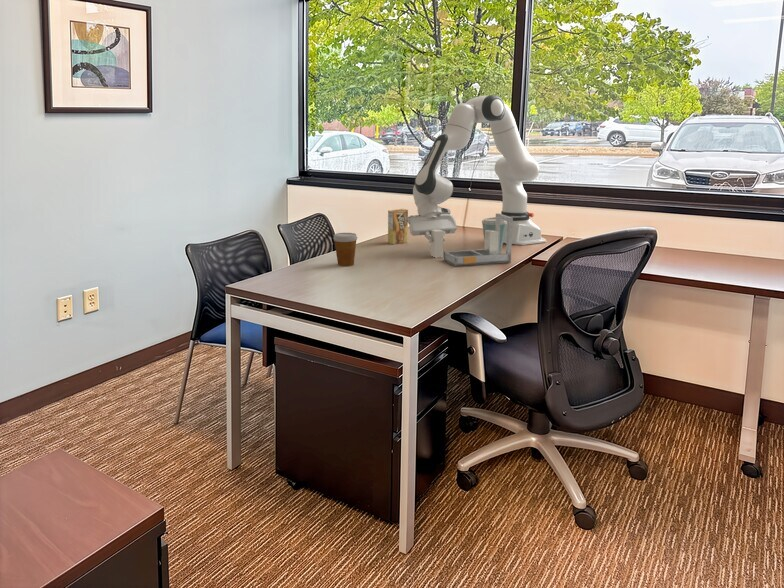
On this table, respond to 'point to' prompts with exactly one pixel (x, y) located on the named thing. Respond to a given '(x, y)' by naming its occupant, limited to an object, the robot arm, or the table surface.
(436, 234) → the cream rectangular block
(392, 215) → the candy box
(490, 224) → the disposable coffee cup
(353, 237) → the disposable coffee cup
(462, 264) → the rack
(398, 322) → the table surface
